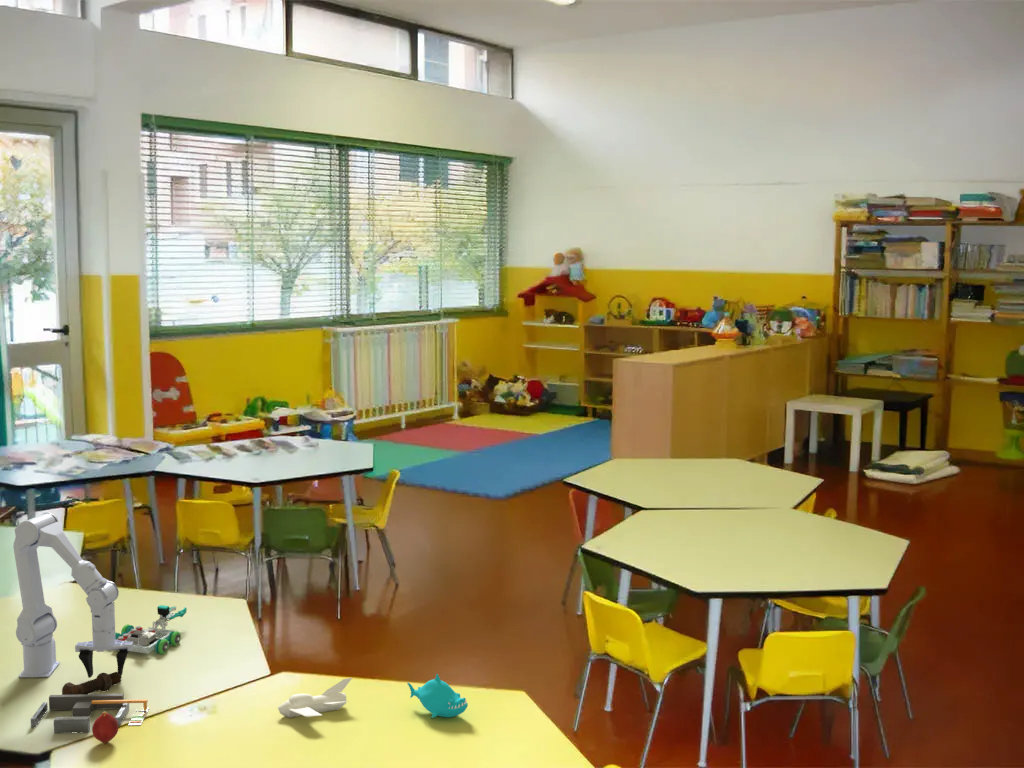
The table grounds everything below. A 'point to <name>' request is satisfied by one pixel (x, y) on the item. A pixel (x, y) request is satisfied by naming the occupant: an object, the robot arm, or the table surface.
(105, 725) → the onion
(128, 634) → the robot kit
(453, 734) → the table surface
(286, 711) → the airplane model
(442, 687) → the toy shark
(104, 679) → the bolt
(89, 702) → the grey bar with rod
